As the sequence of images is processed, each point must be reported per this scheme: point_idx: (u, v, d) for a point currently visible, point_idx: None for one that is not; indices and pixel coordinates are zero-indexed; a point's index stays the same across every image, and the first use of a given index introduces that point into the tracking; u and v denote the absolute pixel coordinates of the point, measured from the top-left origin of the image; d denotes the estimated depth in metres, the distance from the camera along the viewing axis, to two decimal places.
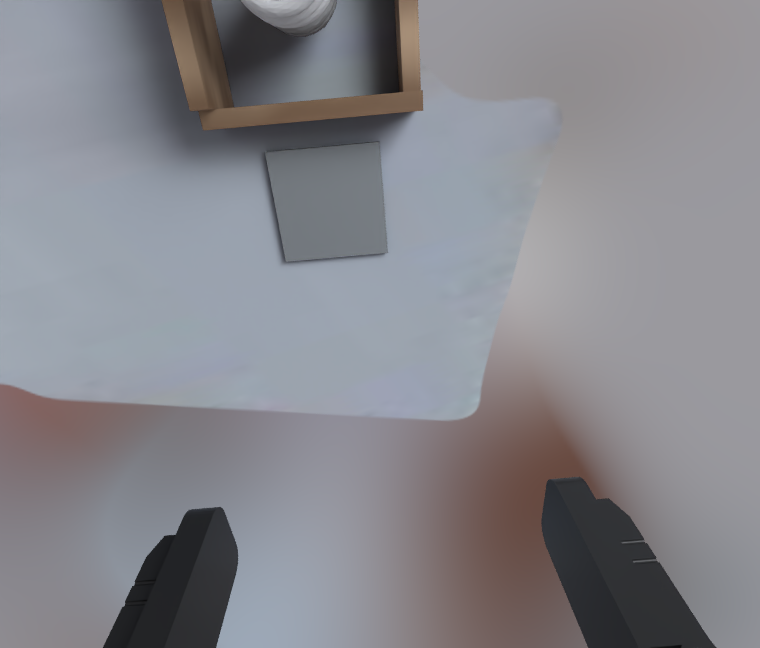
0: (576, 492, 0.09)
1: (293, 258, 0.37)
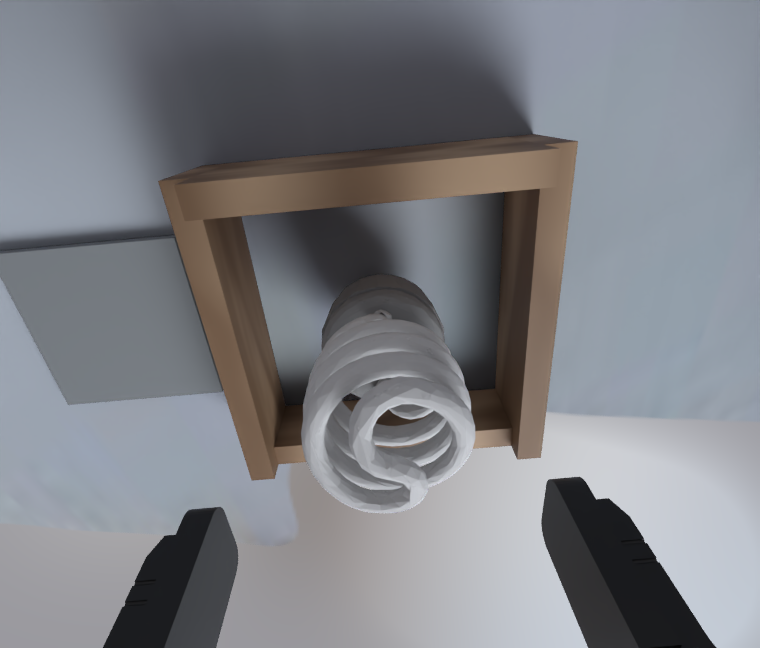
0: (576, 492, 0.09)
1: (1, 268, 0.21)
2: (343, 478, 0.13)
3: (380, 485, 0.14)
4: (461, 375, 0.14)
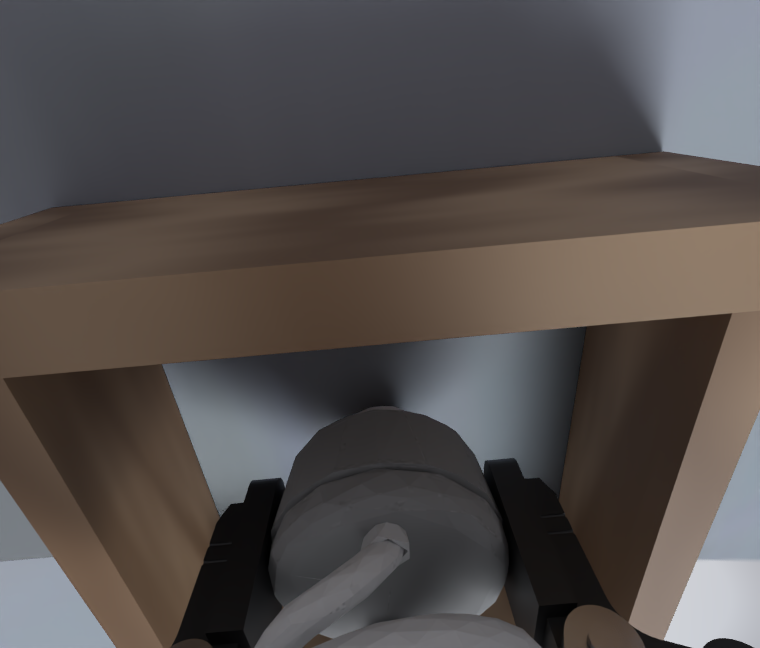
0: (507, 471, 0.10)
1: None
2: None
3: None
4: None
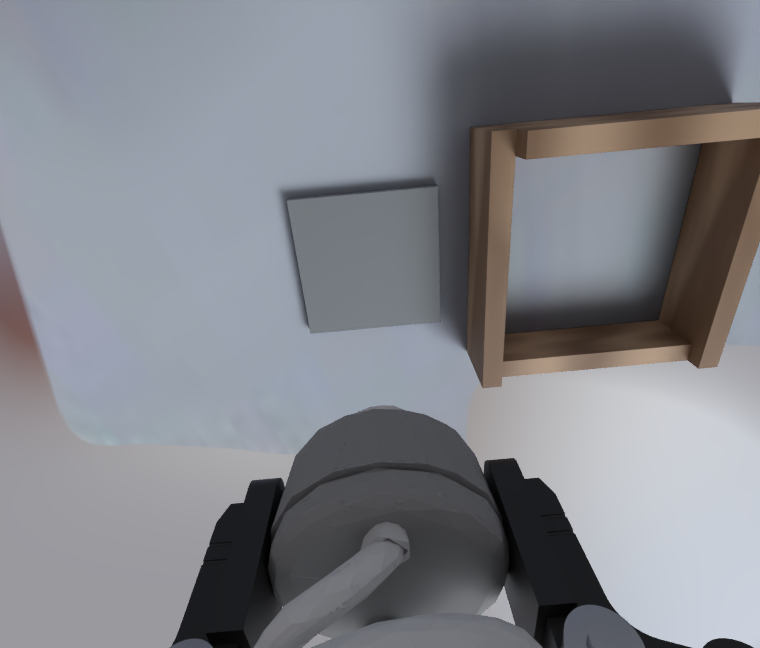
0: (506, 471, 0.10)
1: (292, 212, 0.25)
2: None
3: None
4: None
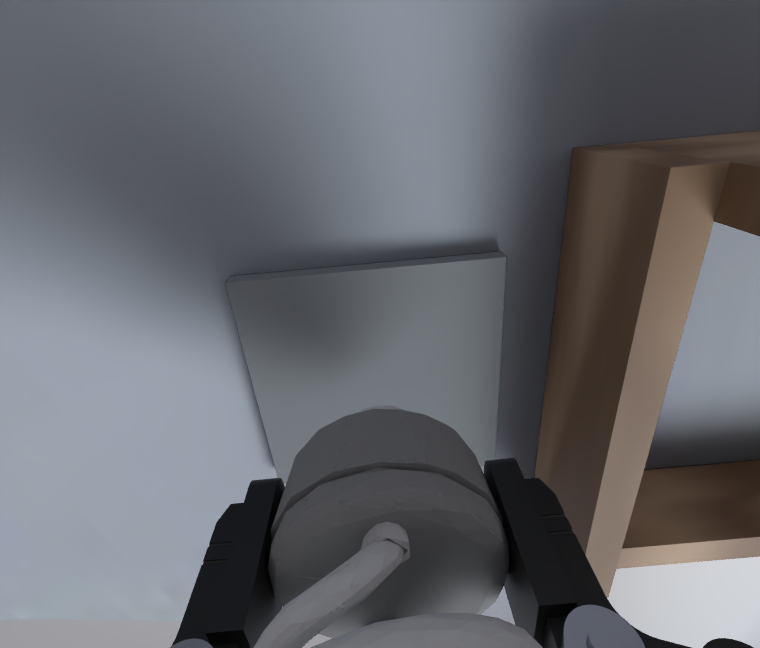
0: (506, 471, 0.10)
1: (237, 302, 0.14)
2: None
3: None
4: None
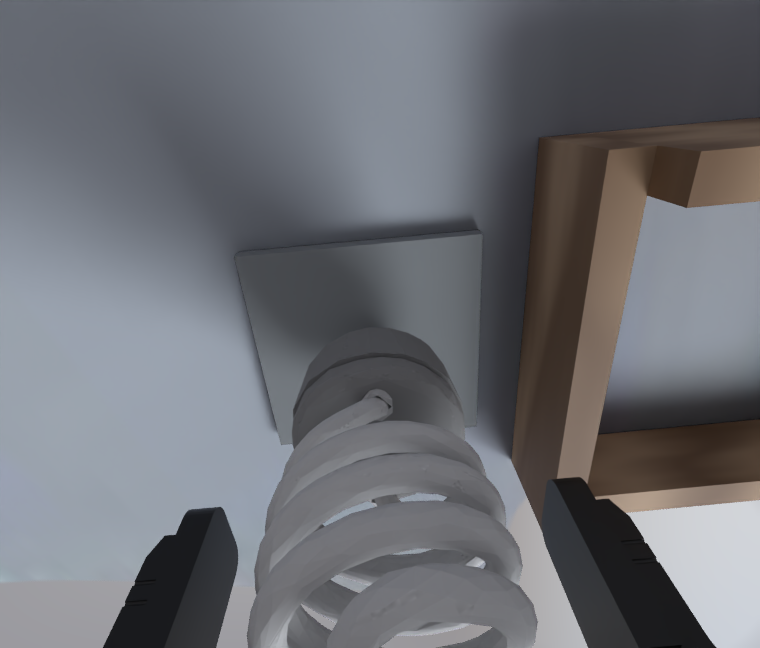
0: (576, 492, 0.09)
1: (245, 274, 0.16)
2: None
3: None
4: (503, 508, 0.09)
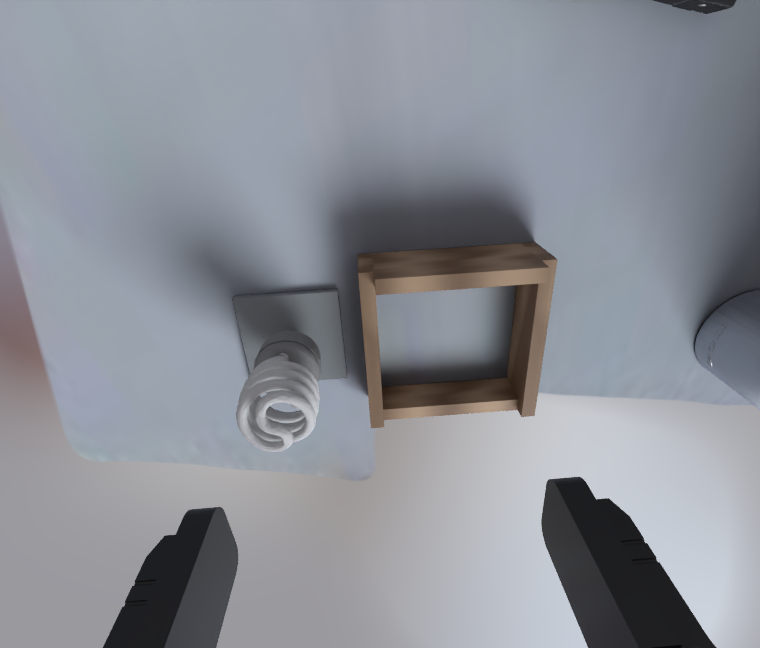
0: (576, 492, 0.09)
1: (236, 306, 0.36)
2: (256, 435, 0.29)
3: (276, 440, 0.30)
4: (315, 388, 0.30)
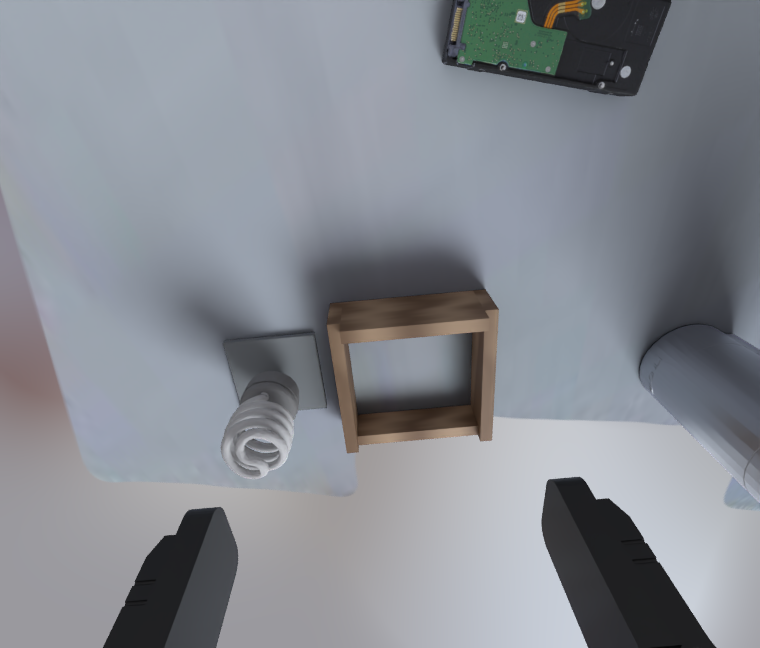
0: (576, 492, 0.09)
1: (227, 349, 0.42)
2: (238, 465, 0.35)
3: (255, 468, 0.36)
4: (289, 424, 0.36)
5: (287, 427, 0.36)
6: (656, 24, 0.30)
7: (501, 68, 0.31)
